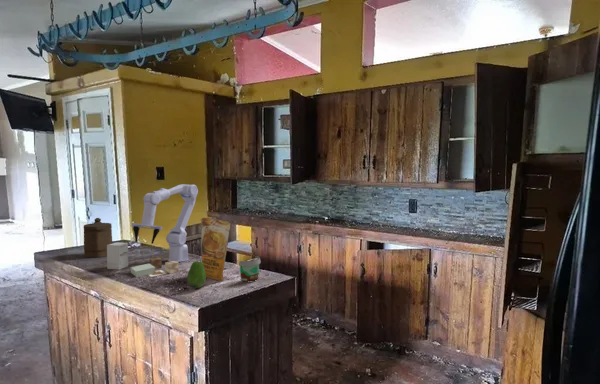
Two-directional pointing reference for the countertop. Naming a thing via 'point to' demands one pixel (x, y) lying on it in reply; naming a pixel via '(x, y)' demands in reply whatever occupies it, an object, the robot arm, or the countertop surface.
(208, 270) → the pancake mix bag
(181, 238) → the robot arm
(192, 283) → the avocado
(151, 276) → the card
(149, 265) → the plinth
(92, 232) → the wooden container
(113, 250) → the supplement box
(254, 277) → the food container
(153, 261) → the walnut block
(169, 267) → the beech block
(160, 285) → the countertop surface
